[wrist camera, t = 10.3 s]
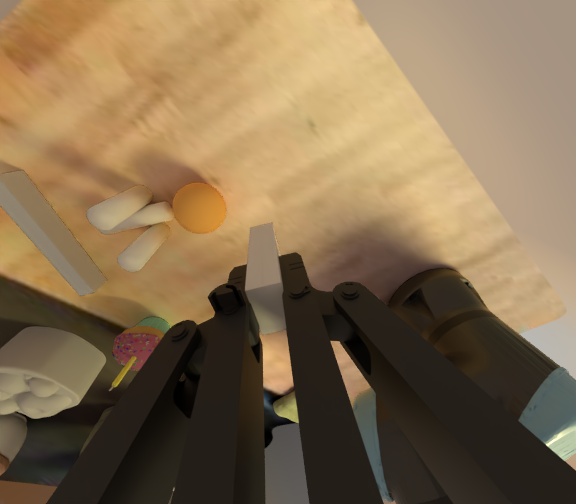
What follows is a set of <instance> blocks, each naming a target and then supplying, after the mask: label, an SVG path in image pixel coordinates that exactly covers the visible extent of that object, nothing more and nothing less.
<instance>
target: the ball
mask: <svg viewBox="0 0 576 504" xmlns="http://www.w3.org/2000/svg"><path fill="white" fill-rule="evenodd" d="M172 208H173V213H174V216H175V218H176V220H177V221H178V223H179V224H180V225H181V226H182V227H183V228H185V229H186V230H188V231H190V232H193V233H199V234H204V233H209V232H212V231H214V230H215V229H217V228H218V227H219V226H220V225H221V224H222V223H223V221H224V219H225V216H226V204H225V201H224V198H223V197H222V195H221V194H220V193H219V191H217V190H216V189H215V188H214V187H212V186H210V185H208V184H205V183H190V184H187V185H185V186H183V187H182V188H181V189H180V190H179V191H178V192H177V193H176V195H175V197H174V199H173V205H172Z"/></svg>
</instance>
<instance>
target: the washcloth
mask: <svg viewBox="0 0 576 504" xmlns="http://www.w3.org/2000/svg"><path fill="white" fill-rule="evenodd" d="M273 407H274V410H275V412H276V414H277V415H279V416H281V417H286V418H289V419H290V420H292V421H295V422H297V423H299V420H298V413H297V405H296V398H295V390H294V391H293V392H291V393H290V394H288V395H285V396H283V397H282V398H280V399H278V400H276V401H275V402H274V403H273Z"/></svg>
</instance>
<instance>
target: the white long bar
mask: <svg viewBox="0 0 576 504" xmlns="http://www.w3.org/2000/svg"><path fill="white" fill-rule="evenodd" d="M0 206H1V207H2V208H3V209H4V210H5V211H6V212H7V214H8V215H9V216H10V217H11V218H12V219H13V220H14V222H15V223H16V224H17V225H18V226H19V227H20V228H21V230H22V231H23V232H24V233H25V234H26V235H27V236H28V237H29V239H30V240H31V241H32V242H33V243H34V244H35V245H36V247H37V248H38V249H39V250H40V251H41V252H42V253H43V254H44V256H45V257H46V258H47V259H48V260H49V261H50V262H51V264H52V265H53V266H54V267H55V268H56V269H57V270H58V272H59V273H60V274H61V275H62V276H63V277H64V278H65V279H66V281H67V282H68V283H69V284H70V285H71V286H72V287H73V289H74V290H75V291H76V292H77V293H78V294H79V295H80V296H83V295H87V294H91V293H95V292H96V291H97V290H98V289H99V288H100V287H101V286H102V285H103V284H104V283H105V282H106V281H107V279H106V278H105V277H104V275H103V274H102V273H101V271H100V270H99V269H98V267H97V266H96V265H95V264H94V262H93V261H92V260H91V258H90V257H89V256H88V254H87V253H86V252H85V250H84V249H83V248H82V246H81V245H80V244H79V243H78V241H77V240H76V239H75V237H74V236H73V235H72V233H71V232H70V231H69V229H68V228H67V227H66V226H65V224H64V223H63V222H62V220H61V219H60V218H59V216H58V215H57V214H56V212H55V211H54V210H53V209H52V207H51V206H50V205H49V203H48V202H47V201H46V199H45V198H44V197H43V195H42V194H41V193H40V192H39V190H38V189H37V188H36V186H35V185H34V184H33V182H32V181H31V180H30V178H29V177H28V176H27V175H26V173H25V172H24V171H23V170H21V171H15V172H10V173H4V174H0Z"/></svg>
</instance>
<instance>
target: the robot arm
mask: <svg viewBox="0 0 576 504" xmlns="http://www.w3.org/2000/svg"><path fill="white" fill-rule="evenodd" d="M228 280H229V281H228V283H226V284H223V285H220V286H219V287H217V288H215V289H214V290H213V291H212V292H211V293H210V294H209V296H208V299H209V301H210V303H211V305H212V307H213V309H214V311H215V316H214V317H213V318H211V319H209V320H208V321H205V322H203V323H201V324H199V325H197V324H196V323H195V322H194V321H191V320H186V321H182V322H180V323H177V324H175V325H174V326H173V327H171V328H170V329H169V330H168V331H167V332H166V333H165V335H164V336H163V337H162V339H161V340H160V342H159V343H158V345H157V346H156V347H155V349H154V350H153V352H152V353H151V355H150V356H149V357H148V359H147V360H146V362H145V363H144V365H143V366H142V367H141V369H140V370H139V372H138V373H137V375H136V376H135V377H134V379H133V380H132V382H131V383H130V385H129V386H128V387H127V389H126V390H125V392H124V393H123V395H122V396H121V397H120V399H119V400H118V402H117V403H116V405H115V406H114V407H113V409H112V410H111V412H110V413H109V415H108V416H107V417H106V419H105V420H104V422H103V423H102V425H101V426H100V427H99V429H98V430H97V432H96V433H95V435H94V436H93V437H92V439H91V440H90V442H89V443H88V445H87V446H86V447H85V449H84V450H83V452H82V453H81V455H80V456H79V457H78V459H77V460H76V462H75V463H74V465H73V466H72V467H71V469H70V470H69V472H68V473H67V475H66V476H65V477H64V479H63V480H62V482H61V483H60V485H59V486H58V487H57V489H56V490H55V492H54V493H53V495H52V496H51V497H50V499H49V500H48V502H47V503H46V504H168V503H169V500H170V497H171V495H172V492H173V490H174V493H173V496H172V501H171V504H265V460H264V459H265V455H264V401H263V349H262V342H261V339H260V337H259V329H260V331H261V334H262V335H266V334H270V333H274V332H278V331H283V330H287V337H288V345H289V352H290V360H291V367H292V375H293V382H294V390H295V398H296V405H297V413H298V420H299V428H300V435H301V442H302V451H303V458H304V465H305V473H306V480H307V488H308V496H309V503H310V504H384V503H383V500H385V501H389V502H392V501H394V500H395V502H396V504H576V471H575V470H574V469H573V468H572V467H571V466H570V465H568V464H567V463H566V462H565V461H564V460H566V459H567V458H569V457H571V456H572V455H574V454H575V453H576V380H575V379H574V378H573V377H572V376H570V375H569V373H568V371H567V370H566V369H565V368H563V367H560V366H559V365H558V364H556V363H555V362H554V361H553V360H551V359H550V358H549V357H547V356H546V355H545V354H543V353H542V352H541V351H540V350H539V349H537V348H536V347H535V346H533V345H532V344H531V343H530V342H528V341H527V340H526V339H525V338H523V337H522V336H521V335H519V334H518V333H517V332H516V331H514V330H513V329H512V328H511V327H509V326H508V325H507V324H505V323H504V322H503V321H502V320H500V319H499V318H498V317H496V316H495V315H494V314H493V313H492V312H490V311H489V310H488V308H487V307H486V305H485V304H484V302H483V301H482V299H481V297H480V296H479V294H478V293H477V292H476V290H475V289H474V287H473V285H472V284H471V283H470V282H469V281H468V280H467V279H466V278H465V277H463V276H462V275H460V274H459V273H458V272H456V271H454V270H451V269H444V268H440V269H432V270H428V271H425V272H423V273H420V274H418V275H416V276H414V277H412V278H411V279H409V280H408V281H407V282H405V283H404V284H403V285H402V286H401V287H400V288H399V289H398V290H397V291H396V292H395V294H394V295H393V297H392V299H391V301H390V303H389V307H387V306H386V305H385V304H384V303H383V302H382V301H381V300H379V299H378V298H377V297H376V296H375V295H374V294H373V293H371V292H370V291H369V290H368V289H367V288H366V287H365V286H363V285H361V284H360V283H356V282H344V283H341V284H339V285H337V286H336V287H335V288H334V290H333V292H324V291H319V290H316V289H314V288H313V287H312V286H311V284H310V282H309V279H308V276H307V273H306V270H305V267H304V264H303V261H302V258H301V256H300V255H299V254H297V253H296V252H295V253H291V254H287V255H282V256H281V254H280V250H279V246H278V242H277V238H276V234H275V231H274V227H273V223H268V224H264V225H259V226H255V227H251V228H250V237H249V248H248V260H247V265H243V266H238V267H234V269H233V270H232V271H231V272H230V274H229V279H228ZM330 341H340V343H341V345H342V346H343V348H344V349H345V351H346V352H347V353H348V355H349V356H350V358H351V359H352V360H353V362H354V363H355V365H356V366H357V368H358V369H359V370H360V372H361V373H362V375H363V376H364V378H365V379H366V380H367V382H368V383H369V385H370V386H371V388H369V389H367V390H365V391H363V392H362V393H360V394H358V395H357V397H356V398H355V401H354V404H353V409H352V406H351V403H350V400H349V397H348V394H347V391H346V388H345V385H344V382H343V379H342V376H341V372H340V369H339V366H338V363H337V360H336V357H335V354H334V351H333V348H332V345H331V342H330ZM183 373H184V374H183ZM182 374H183V376H182ZM181 376H182V378H181ZM180 378H181V379H180ZM174 487H175V488H174ZM382 499H383V500H382Z"/></svg>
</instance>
